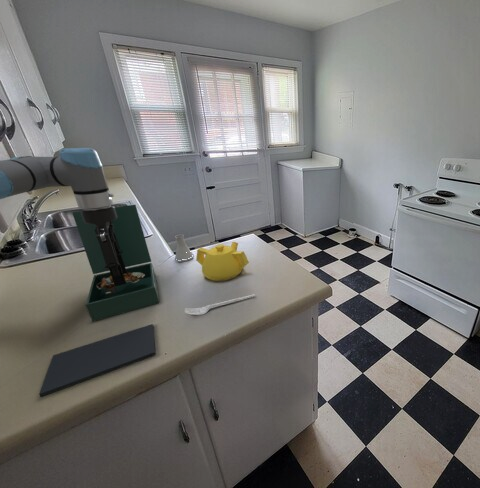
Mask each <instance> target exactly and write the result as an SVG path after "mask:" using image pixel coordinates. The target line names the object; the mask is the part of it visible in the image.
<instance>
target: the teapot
mask: <svg viewBox="0 0 480 488" xmlns="http://www.w3.org/2000/svg"><path fill="white" fill-rule="evenodd" d="M230 245H231V246H230ZM230 245H224V244H220V243H219V244H217V245H215V246H214V247H212V248H210V249H208V248H204V247H199V248H198V249H196V259H195V261H196V262H197V263H198V264H200V265H201V273H202V275H203V276H204V277H205V278H207V279H209V280H210V281H214V282H223V281H228V280H232V279H234V278H235V277H237V276H239V275H240V274H241V272H242V271H243V270H244V268H245V267H247V265H248V264H249V260H248V258H247V255H246V253H245V251H244V250H240V251H238V246H239V243H238V242H236V241H232V242H231V244H230Z"/></svg>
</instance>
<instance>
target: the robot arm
mask: <svg viewBox="0 0 480 488" xmlns="http://www.w3.org/2000/svg"><path fill="white" fill-rule="evenodd" d="M58 153H59V156H32V155H24V156H15V157H11V158H9V159H3V160H0V200H3V199H6V198H9V197H14V196H17V195H21V194H24V193H28V192H34V191H37V190H41V189H45V188H52V187H53V188H54V187H70V188H71V191H72V192H73V196H74V198H75V199H74V200H75V202H76V204H77V207H78V209H81V210H80V212H81V215H82V218H83V220H84V222H85V223H86V224H95V225H96V229H95V233H96V238H97V239H98V242H99V244H100V247H101V250H102V253H103V257H104V260H105V263H106V266H105V268H109V270H110V271H109V272H110V273H111V276H112V279H113V282H114V285H115V286H119V285H123V284H126V281H125V278H124V274H126V273H127V271H126V268H127V267H125V265H124V262H123V259H122V256H121V253H123V250H120V247H119V244H118V241H117V238H116V235H115V232H114V226H113V225H112V222H111V221H114V220H116V219H117V213H116V210H115V207H116V206H115V205H113V204H114V202H113V197H115V195H114V194H113V193H110V188H109V186H108V182H107V179H106V176H105V172H104V166H103V164H102V162H101V159H100V157H99V154H98V152H97V150H96V149H94V148H91V147H71V148H70V147H69V148H68V147H67V148H61V149H59V151H58ZM119 254H120V255H119Z"/></svg>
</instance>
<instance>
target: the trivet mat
mask: <svg viewBox="0 0 480 488" xmlns="http://www.w3.org/2000/svg"><path fill="white" fill-rule="evenodd" d="M156 355H157V353H156V343H155V331H154V324H153V323H151V324H148V325H145V326H142V327H138V328H135V329H132V330H129V331H125V332H123V333H119V334H115V335H113V336H109V337H107V338H104V339H100V340H96V341H94V342H90V343H87V344H84V345H81V346H77V347H74V348H72V349H69V350H66V351H65V350H64V351H62V352H60V353H57V354H53V355H52V358H51V360H50V363H49V365H48V369H47V371H46V374H45V377H44V378H43V379H44V380H43V382H42V385H41V386H40V387H41V388H40V390H39V393H38V395H39V396H40V397H44V396H47V395H50V394H52V393H55V392H57V391H60V390H63V389H65V388H68V387H71V386H75V385H77V384H79V383H82V382H84V381H88V380H90V379H93V378H96V377H98V376H101V375H104V374H107V373H109V372H112V371H116V370H117V369H121V368H123V367H126V366H128V365H131V364H134V363H136V362H140V361H142V360H144V359H147V358H150V357H154V356H156Z"/></svg>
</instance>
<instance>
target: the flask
mask: <svg viewBox="0 0 480 488" xmlns="http://www.w3.org/2000/svg"><path fill="white" fill-rule="evenodd" d="M184 237H185V235H184V234H177V235H175V236H174V238H175V240H176V250H175V256H174V261H175V262H178V263H183V262H188V261H190V260H193V259H194V257H195V255H194V253H193V252H192V251H191V249H190V247H189V246H188V244H187V243H186V241H185V238H184ZM190 251H191V252H190ZM186 252H187V253H186ZM192 255H193V257H192ZM190 257H192V258H190ZM188 258H190V259H188ZM176 259H177V260H176ZM182 259H187V260H182ZM178 260H181V261H178Z"/></svg>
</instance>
